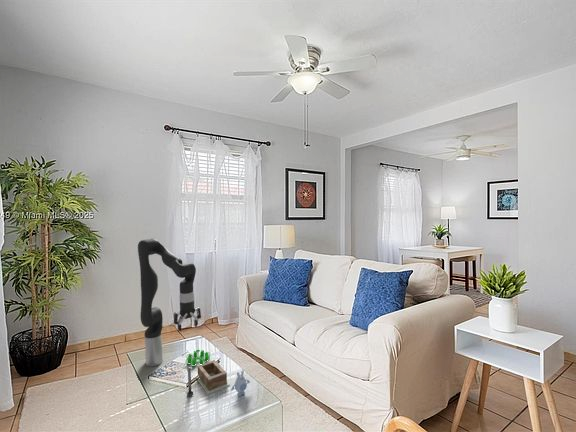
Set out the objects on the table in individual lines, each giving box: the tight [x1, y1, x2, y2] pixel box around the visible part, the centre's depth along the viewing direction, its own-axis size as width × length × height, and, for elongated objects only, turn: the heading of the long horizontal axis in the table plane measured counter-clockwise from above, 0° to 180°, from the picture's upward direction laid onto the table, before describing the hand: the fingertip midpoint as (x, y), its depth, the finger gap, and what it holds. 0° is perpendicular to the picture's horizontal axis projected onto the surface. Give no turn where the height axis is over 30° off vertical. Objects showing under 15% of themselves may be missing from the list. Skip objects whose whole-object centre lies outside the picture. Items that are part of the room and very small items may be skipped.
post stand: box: [186, 367, 194, 398], centre depth 159 cm, size 3×3×14 cm
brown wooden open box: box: [197, 359, 228, 391], centre depth 171 cm, size 16×10×6 cm, turn 36°
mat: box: [197, 373, 230, 395], centre depth 171 cm, size 18×12×1 cm, turn 36°
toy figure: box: [231, 370, 251, 397], centre depth 160 cm, size 11×6×12 cm, turn 127°
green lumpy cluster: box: [185, 349, 211, 366], centre depth 191 cm, size 15×15×7 cm
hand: (188, 328), depth 173 cm, fingers open, 8 cm apart
